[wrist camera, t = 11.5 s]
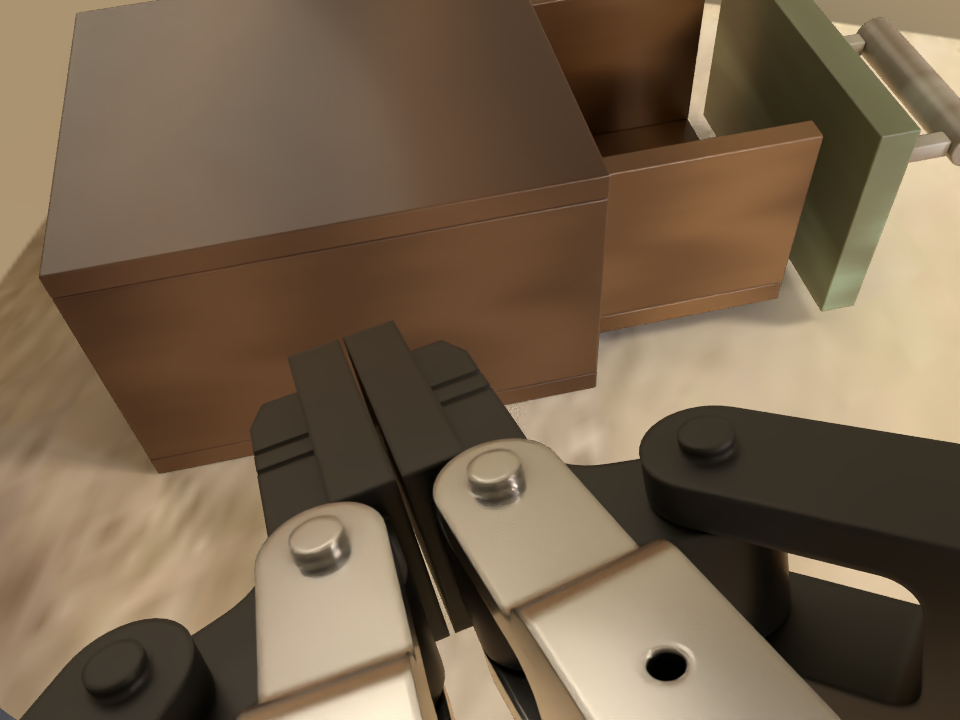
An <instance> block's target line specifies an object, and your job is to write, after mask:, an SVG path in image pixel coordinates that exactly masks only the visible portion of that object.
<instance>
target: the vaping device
mask: <svg viewBox="0 0 960 720" xmlns="http://www.w3.org/2000/svg"><path fill="white" fill-rule="evenodd" d="M0 720H16V719H14V718H13V717H12V716H10V715H9V714H7V713H6V712H5V711H3V710H2V709H1V708H0Z"/></svg>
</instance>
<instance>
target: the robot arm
mask: <svg viewBox="0 0 960 720" xmlns="http://www.w3.org/2000/svg"><path fill="white" fill-rule="evenodd" d="M343 340H344V343H345V346H346V349H347V352H348V355H349V358H350V361H351V364H352V367H353V370H354V372H355V375H356V378H357V381H358V384H359V387H360V390H361V392H362V395H363V398H364V400H363V398H362V396H361V393H360V391H359V388H358V386H357V383H356V381H355V378H354V376H353V374H352V371H351V369H350V366H349V364H348V361H347V359H346V356H345V354H344V352H343V349H342V347H341V344H340V342H339V340H335V341H332V342H329V343H326V344H323V345H321V346H318V347H315V348H312V349H309V350H306V351H304V352H301V353H298V354H295V355H292V356H289V357H287V358H288V362H289V365H290V369H291V372H292V376H293V380H294V383H295V387H296V390H297V392H295V393H293V394H290V395H287V396H284V397H281V398H279V399H276V400H273V401H270V402H268V403H265V404H262V405H261V407H260V409H259V411H258V413H257V415H256V417H255V419H254V421H253V424H252V426H251V428H250V436H251V442H252V447H253V453H254V455H255V457H254V459H255V465H256V471H257V473H258V482H259V488H260V494H261V500H262V505H263V511H264V517H265V523H266V529H267V534H268V538H267V540H266V541H265V542H264V544H263V545H262V547H261V549H260V550H259V552H258V555H257V558H256V561H255V587H254V588H253V589H252V590H251V591H250V592H249V593H248V595H247V596H246V597H245V598H244V599H243V600H242V601H240V602H239V603H238V604H237V605H236V606H235V607H233V608H232V609H231V610H229V611H228V612H227V613H225V614H224V615H222V616H221V617H219V618H218V619H216V620H215V621H213V622H212V623H210V624H209V625H207V626H206V627H204V628H203V629H201V630H200V631H198V632H197V633H195V634H193V635H192V636H191V635H190V633H189V632H188V630H187V629H186V628H185V627H184V626H183V625H181V624H179V623H177V622H175V621H172V620H168V619H159V618H153V619H144V620H139V621H135V622H131V623H129V624H126V625H123V626H120V627H118V628H116V629H114V630H112V631H109V632H107V633H106V634H104V635H102V636H101V637H99V638H97V639H96V640H94V641H93V642H92V643H90V644H89V645H87V646H86V647H85V648H84V649H82V650H81V651H80V652H79V653H78V654H77V655H75V656H74V657H73V658H72V660H71V661H70V662H69V663H68V664H67V665H66V666H65V667H64V668H63V669H62V671H61V672H60V673H59V674H58V675H57V676H56V678H55V679H54V680H53V681H52V682H51V683H50V685H49V686H48V687H47V688H46V689H45V690H44V692H43V693H42V694H41V695H40V696H39V698H38V699H37V700H36V701H35V702H34V703H33V705H32V706H31V707H30V708H29V709H28V710H27V712H26V713H25V714H24V715H23V716H22V717H21V719H20V720H455V718H454V715H453V711H452V707H451V703H450V700H449V697H448V694H447V692H446V689H445V686H444V680H445V670H444V666H443V662H442V660H441V657H440V654H439V651H438V649H437V646H436V643H435V642H436V641H438V640H441V639H443V638H446V637H448V636H450V634H449V631H448V628H447V625H446V622H445V620H444V617H443V614H442V611H441V608H440V605H439V602H438V599H437V597H436V594H435V591H434V588H433V585H432V582H431V579H430V576H429V573H428V571H427V568H426V565H425V562H424V559H423V556H422V553H421V550H420V548H419V545H418V542H419V544H420V547H421V549H422V552H423V554H424V557H425V559H426V562H427V564H428V567H429V569H430V572H431V574H432V576H433V579H434V581H435V584H436V586H437V589H438V591H439V594H440V596H441V599H442V601H443V604H444V606H445V609H446V611H447V613H448V616H449V618H450V621H451V623H452V626H453V628H454V631H455V633H457V632H459V631H462V630H464V629H466V628H469V627H471V626H473V627H474V629H475V631H476V634H477V636H478V638H479V641H480V643H481V645H482V648H483V651H484V655H485V658H486V661H487V664H488V667H489V670H490V673H491V676H492V678H493V681H494V683H495V685H496V687H497V688H498V690H499V692H500V694H501V696H502V698H503V699H504V701H505V703H506V705H507V707H508V709H509V710H510V712H511V714H512V716H513V718H514V719H515V720H960V444H957V443H951V442H945V441H939V440H933V439H926V438H920V437H914V436H908V435H902V434H896V433H890V432H884V431H877V430H871V429H865V428H859V427H853V426H847V425H841V424H834V423H828V422H822V421H816V420H810V419H804V418H798V417H791V416H785V415H779V414H773V413H767V412H761V411H755V410H749V409H742V408H736V407H729V406H701V407H695V408H689V409H685V410H682V411H679V412H676V413H674V414H671V415H669V416H667V417H665V418H663V419H662V420H660V421H658V422H657V423H656V424H655V425H653V426H652V427H651V428H650V429H649V430H648V431H647V432H646V434H645V435H644V437H643V439H642V440H641V444H640V447H639V456H640V459H636V460H629V461H623V462H617V463H610V464H603V465H588V466H581V465H570V464H565V463H564V462H563V461H562V460H561V459H560V458H559V457H558V456H557V455H556V453H555V452H554V451H552V450H551V449H550V448H549V447H547V446H545V445H544V444H542V443H539V442H536V441H533V440H528V439H527V438H526V437H525V435H524V434H523V432H522V431H521V429H520V428H519V426H518V425H517V423H516V422H515V421H514V419H513V418H512V416H511V415H510V413H509V412H508V410H507V409H506V407H505V406H504V404H503V403H502V401H501V400H500V399H499V397H498V396H497V394H496V393H495V391H494V390H493V388H492V389H491V386H490V384H489V382H488V381H487V379H486V378H485V377H484V375H483V374H482V373H481V372H480V369H479V368H478V366H477V365H476V363H475V362H474V360H473V359H472V357H471V356H470V355H469V353H468V352H467V351H466V350H464V349H462V348H459V347H457V346H455V345H452V344H450V343H448V342H445V341H443V340H440V341H437V342H434V343H431V344H428V345H426V346H423V347H420V348H417V349H415V350H412V351H411V350H410V349H409V347H408V345H407V343H406V342H405V340H404V338H403V336H402V334H401V333H400V331H399V329H398V327H397V325H396V324H395V322H394V321H393V320H391V321H388V322H385V323H383V324H380V325H377V326H374V327H371V328H368V329H366V330H363V331H360V332H357V333H354V334H351V335H349V336H346V337H343ZM364 401H365V403H364ZM365 404H366V405H365ZM366 407H367V408H366ZM367 409H368V410H367ZM368 412H369V413H368ZM414 532H415V533H414ZM415 534H416V536H415ZM416 537H417V539H418V542H417V539H416ZM787 553H790V554H794V555H799V556H803V557H807V558H811V559H815V560H819V561H823V562H827V563H831V564H835V565H839V566H843V567H847V568H851V569H855V570H859V571H863V572H867V573H871V574H875V575H879V576H882V577H885V578H888V579H891V580H893V581H895V582H897V583H899V584H900V585H902V586H903V587H905V588H906V589H908V590H909V591H910V592H911V593H912V594H913V595H914V596H915V597H916V599H917V600H918V601H919V603H920V605H918V604H913V603H910V602H906V601H902V600H898V599H894V598H890V597H887V596H883V595H879V594H875V593H871V592H867V591H863V590H860V589H856V588H852V587H848V586H844V585H840V584H837V583H833V582H829V581H825V580H821V579H817V578H813V577H810V576H806V575H802V574H798V573H794V572H790V571H789V566H788V554H787Z"/></svg>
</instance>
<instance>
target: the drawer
mask: <svg viewBox="0 0 960 720" xmlns="http://www.w3.org/2000/svg"><path fill="white" fill-rule="evenodd" d="M530 1H531V3H532V6H533V8H534V10H535V12H536V14H537V16H538V19H539V21H540V23H541V25H542V27H543V30H544V32H545V34H546V36H547V38H548V40H549V43H550V45H551V47H552V49H553V51H554V54H555V56H556V58H557V60H558V62H559V64H560V67H561V69H562V71H563V73H564V75H565V78H566V80H567V82H568V84H569V86H570V88H571V91H572V93H573V95H574V97H575V99H576V102H577V104H578V106H579V108H580V110H581V112H582V115H583V117H584V119H585V121H586V123H587V126H588V128H589V130H590V132H591V134H592V136H593V139H594V141H595V143H596V145H597V147H598V150H599V152H600V154H601V156H602V158H603V160H604V163H605V165H606V167H607V169H608V171H609V173H610V188H609V197H608V199H609V200H608V215H607V229H606V244H605V258H604V273H603V287H602V302H601V316H600V331H599V333H600V332H605V331H610V330H616V329H621V328H626V327H631V326H636V325H641V324H647V323H652V322H657V321H662V320H667V319H672V318H678V317H683V316H688V315H693V314H698V313H703V312H709V311H714V310H719V309H724V308H729V307H734V306H739V305H745V304H750V303H755V302H760V301H765V300H770V299H776V298H777V297H778V294H779V290H780V287H781V281H782V279H783V276H784V272H785V269H786V265H787V262H788V258H789V259H790V260H791V262H792V264H793V265H794V267H795V269H796V270H797V272H798V274H799V275H800V277H801V279H802V280H803V282H804V284H805V285H806V287H807V289H808V290H809V292H810V294H811V295H812V297H813V299H814V300H815V302H816V304H817V306H818V307H819V309H820V311H828V310H833V309H838V308H843V307H848V306H853V305H854V303H855V301H856V298H857V296H858V293H859V290H860V288H861V285H862V283H863V280H864V277H865V275H866V272H867V270H868V267H869V264H870V262H871V259H872V257H873V254H874V251H875V249H876V246H877V243H878V241H879V238H880V236H881V233H882V230H883V228H884V225H885V223H886V220H887V217H888V215H889V212H890V210H891V207H892V204H893V202H894V199H895V197H896V194H897V191H898V189H899V186H900V184H901V181H902V178H903V176H904V173H905V171H906V168H907V165H908V163H910V162H915V161H921V160H926V159H932V158H937V157H943V156H947V157H948V158H949V160H950V161H951V162H952V163H953V164H955V165H957V166H960V98H959V97H958V96H957V95H956V93H955V92H954V91H953V90H952V89H951V88H950V87H949V86H948V85H947V84H946V82H945V81H944V80H943V79H942V78H941V77H940V76H939V75H938V74H937V73H936V72H935V70H934V69H933V68H932V67H931V66H930V65H929V64H928V63H927V62H926V61H925V59H924V58H923V57H922V56H921V55H920V54H919V53H918V52H917V51H916V50H915V48H914V47H913V46H912V45H911V44H910V43H909V42H908V41H907V40H906V39H905V37H904V36H903V35H902V34H901V33H900V32H899V31H898V30H897V29H896V28H895V27H894V25H893V24H892V23H891V22H890V21H889V20H888V19H886V18H882V17H878V18H874V19H872V20H870V21H868V22H866V23H865V24H864V25H863V26H862V27H861V28H860V29H859V30H858V32H857V34H854V35H848V36H842V34H841V33H840V32H839V31H838V30H837V28H836V27H835V26H834V25H833V24H832V22H831V21H830V20H829V19H828V18H827V16H826V15H825V14H824V13H823V12H822V11H821V9H820V8H819V7H818V6H817V5H816V3H815V2H814V1H813V0H722V2H721V8H720V14H719V20H718V26H717V33H716V39H715V45H714V52H713V58H712V64H711V70H710V77H709V83H708V89H707V96H706V102H705V108H704V117H705V118H706V120H707V122H708V123H709V125H710V127H711V128H712V130H713V132H714V133H715V135H716V137H715V138H709V139H704V140H699V138H698V137H697V135H696V133H695V131H694V130H693V128H692V126H691V124H690V123H689V121H688V119H687V118H688V113H689V106H690V99H691V92H692V85H693V78H694V72H695V65H696V58H697V51H698V44H699V37H700V30H701V23H702V16H703V9H704V2H705V0H530ZM860 55H862V56H863V57H864V58H865V59H866V61H867V62H868V63H869V64H870V65H871V67H872V68H873V69H874V70H875V71H876V73H877V74H878V75H879V76H880V77H881V78H882V80H883V81H884V82H885V83H886V84H887V86H888V87H889V88H890V89H891V90H892V92H893V93H894V94H895V95H896V96H897V98H898V99H899V100H900V101H901V102H902V104H903V105H904V106H905V107H906V108H907V109H908V111H909V112H910V113H911V114H912V115H913V117H914V118H915V119H916V120H917V121H918V123H919V124H920V125H921V126H922V127H923V129H924V130H925V131H926V132H927V133H928V134H925V135H919V134H920V132H921V129H920V128H919V127H918V126H917V124H916V123H915V122H914V121H913V120H912V118H911V117H910V116H909V115H908V114H907V112H906V111H905V110H904V109H903V108H902V106H901V105H900V104H899V103H898V102H897V100H896V99H895V98H894V97H893V96H892V94H891V93H890V92H889V91H888V90H887V88H886V87H885V86H884V85H883V84H882V82H881V81H880V80H879V79H878V78H877V76H876V75H875V74H874V73H873V72H872V70H871V69H870V68H869V67H868V66H867V64H866V63H865V62H864V61H863V60H862V58H861V57H860Z"/></svg>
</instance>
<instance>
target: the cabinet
mask: <svg viewBox="0 0 960 720" xmlns="http://www.w3.org/2000/svg"><path fill="white" fill-rule="evenodd" d="M609 188H610V173H609V171H608V169H607V167H606V165H605V163H604V160H603V158H602V156H601V154H600V152H599V150H598V147H597V145H596V143H595V141H594V139H593V136H592V134H591V132H590V130H589V128H588V126H587V123H586V121H585V119H584V117H583V115H582V112H581V110H580V108H579V106H578V104H577V102H576V99H575V97H574V95H573V93H572V91H571V88H570V86H569V84H568V82H567V80H566V78H565V75H564V73H563V71H562V69H561V67H560V64H559V62H558V60H557V58H556V56H555V54H554V51H553V49H552V47H551V45H550V43H549V40H548V38H547V36H546V34H545V32H544V30H543V27H542V25H541V23H540V21H539V19H538V16H537V14H536V12H535V10H534V8H533V6H532V3H531V1H530V0H156V1H150V2H143V3H137V4H131V5H124V6H118V7H111V8H105V9H98V10H92V11H86V12H79V13H77V14H76V19H75V26H74V33H73V40H72V47H71V54H70V61H69V69H68V75H67V83H66V90H65V97H64V105H63V111H62V118H61V125H60V132H59V139H58V147H57V153H56V160H55V167H54V174H53V181H52V188H51V195H50V202H49V209H48V216H47V223H46V230H45V237H44V244H43V252H42V259H41V266H40V273H39V279H40V280H41V282H42V284H43V285H44V287H45V289H46V290H47V292H48V294H49V295H50V297H51V298H53V301H54V303H55V305H56V306H57V308H58V309H59V311H60V313H61V314H62V316H63V318H64V319H65V321H66V323H67V324H68V326H69V327H70V329H71V331H72V332H73V334H74V336H75V337H76V339H77V341H78V342H79V344H80V345H81V347H82V349H83V350H84V352H85V354H86V355H87V357H88V359H89V360H90V362H91V363H92V365H93V367H94V368H95V370H96V372H97V373H98V375H99V377H100V378H101V380H102V381H103V383H104V385H105V386H106V388H107V390H108V391H109V393H110V395H111V396H112V398H113V399H114V401H115V403H116V404H117V406H118V408H119V409H120V411H121V413H122V414H123V416H124V417H125V419H126V421H127V422H128V424H129V426H130V427H131V429H132V431H133V432H134V434H135V435H136V437H137V439H138V440H139V442H140V444H141V445H142V447H143V448H144V450H145V452H146V453H147V455H148V457H149V458H150V459H151V462H152V464H153V465H154V467H155V469H156V470H157V472H158V473H165V472H170V471H175V470H180V469H185V468H190V467H195V466H200V465H205V464H210V463H215V462H220V461H225V460H230V459H235V458H240V457H245V456H250V455H254V453H253V447H252V442H251V436H250V428H251V426H252V424H253V421H254V419H255V417H256V415H257V413H258V411H259V409H260V407H261V405H262V404H265V403H268V402H270V401H273V400H276V399H279V398H281V397H284V396H287V395H290V394H293V393H295V392H297V390H296V387H295V383H294V380H293V376H292V372H291V369H290V365H289V362H288V358H287V357H289V356H292V355H295V354H298V353H301V352H304V351H306V350H309V349H312V348H315V347H318V346H321V345H323V344H326V343H329V342H332V341H335V340H339V342H340V344H341V347H342V349H343V352H344V354H345V356H346V359H347V361H348V364H349V366H350V369H351V371H352V374H353V376H354V378H355V381H356V383H357V386H358V388H359V391H360V393H361V396H362V398H363V395H362V392H361V390H360V387H359V384H358V381H357V378H356V375H355V372H354V370H353V367H352V364H351V361H350V358H349V355H348V352H347V349H346V346H345V343H344V340H343V337H346V336H349V335H351V334H354V333H357V332H360V331H363V330H366V329H368V328H371V327H374V326H377V325H380V324H383V323H385V322H388V321H391V320H393V321H394V322H395V324H396V325H397V327H398V329H399V331H400V333H401V334H402V336H403V338H404V340H405V342H406V343H407V345H408V347H409V349H410V350H411V351H412V350H415V349H417V348H420V347H423V346H426V345H428V344H431V343H434V342H437V341H440V340H443V341H445V342H448V343H450V344H452V345H455V346H457V347H459V348H462V349H464V350H466V351H467V352H468V353H469V355H470V356H471V357H472V359H473V360H474V362H475V363H476V365H477V366H478V368H479V369H480V372H481V373H482V374H483V375H484V377H485V378H486V379H487V381H488V382H489V384H490V386H491V389H492V388H493V390H494V391H495V393H496V394H497V396H498V397H499V399H500V400H501V401H502V403H503V404H504V405H507V404H512V403H517V402H522V401H527V400H532V399H537V398H542V397H547V396H552V395H557V394H562V393H567V392H572V391H577V390H582V389H587V388H593V387H595V386H596V377H597V372H596V371H597V360H598V345H599V331H600V316H601V302H602V287H603V273H604V258H605V244H606V229H607V215H608V200H609V199H608V197H609ZM363 400H364V398H363ZM364 403H365V401H364ZM365 405H366V404H365ZM366 408H367V407H366ZM367 410H368V409H367ZM368 413H369V412H368Z"/></svg>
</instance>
